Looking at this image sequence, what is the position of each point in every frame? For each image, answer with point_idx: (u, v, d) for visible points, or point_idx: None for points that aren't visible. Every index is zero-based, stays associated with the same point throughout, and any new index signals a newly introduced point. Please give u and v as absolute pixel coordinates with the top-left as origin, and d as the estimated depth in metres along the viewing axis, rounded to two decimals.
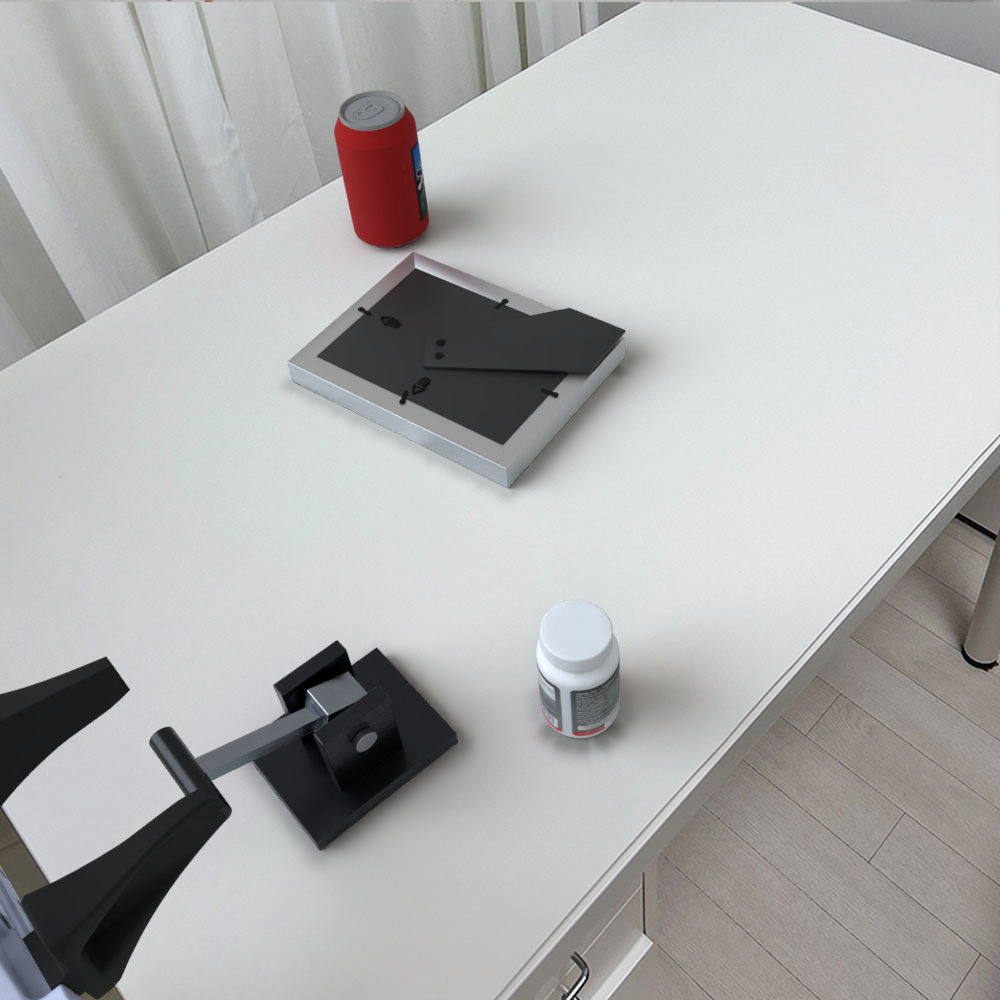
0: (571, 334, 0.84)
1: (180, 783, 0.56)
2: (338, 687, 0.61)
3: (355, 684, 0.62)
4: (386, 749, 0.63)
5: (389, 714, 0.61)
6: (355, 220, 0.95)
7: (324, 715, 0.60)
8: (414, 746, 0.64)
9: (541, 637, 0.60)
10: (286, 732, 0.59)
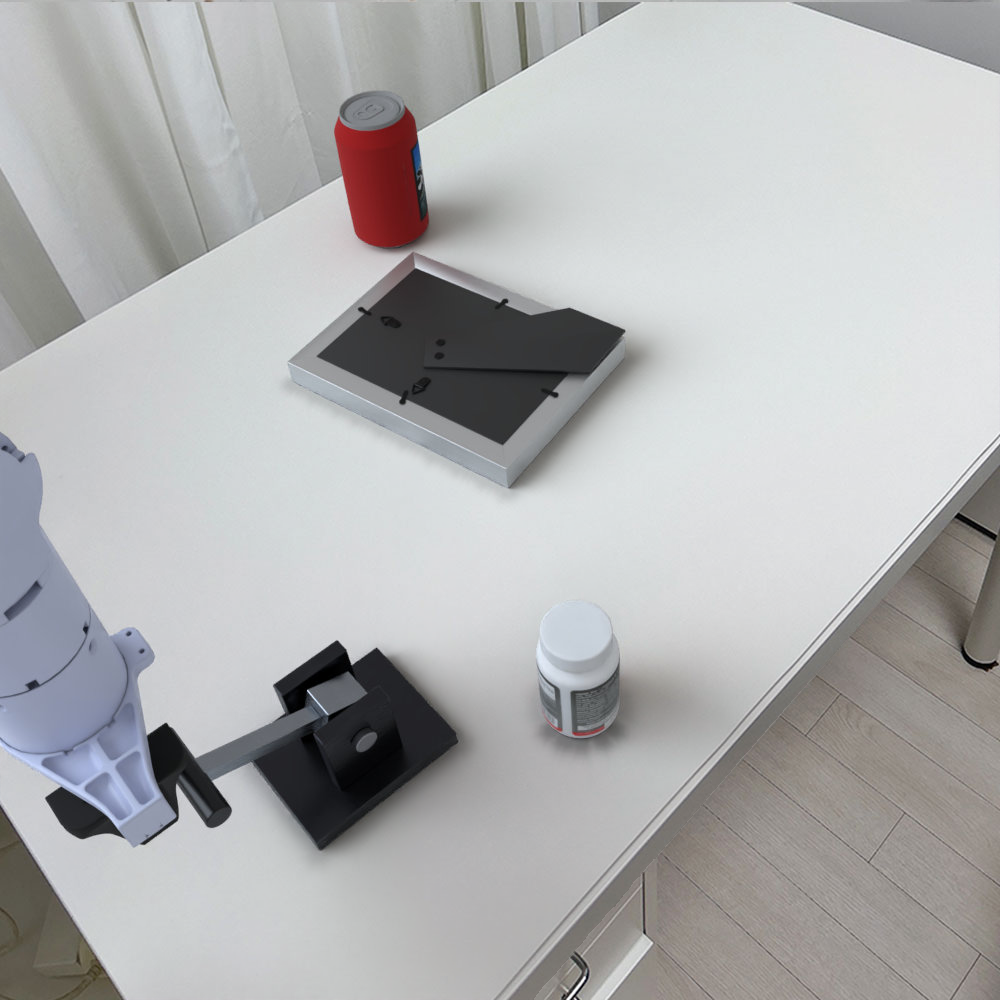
0: (571, 334, 0.84)
1: (180, 783, 0.56)
2: (338, 687, 0.61)
3: (355, 684, 0.62)
4: (386, 749, 0.63)
5: (389, 714, 0.61)
6: (355, 220, 0.95)
7: (324, 715, 0.60)
8: (414, 746, 0.64)
9: (541, 637, 0.60)
10: (286, 732, 0.59)
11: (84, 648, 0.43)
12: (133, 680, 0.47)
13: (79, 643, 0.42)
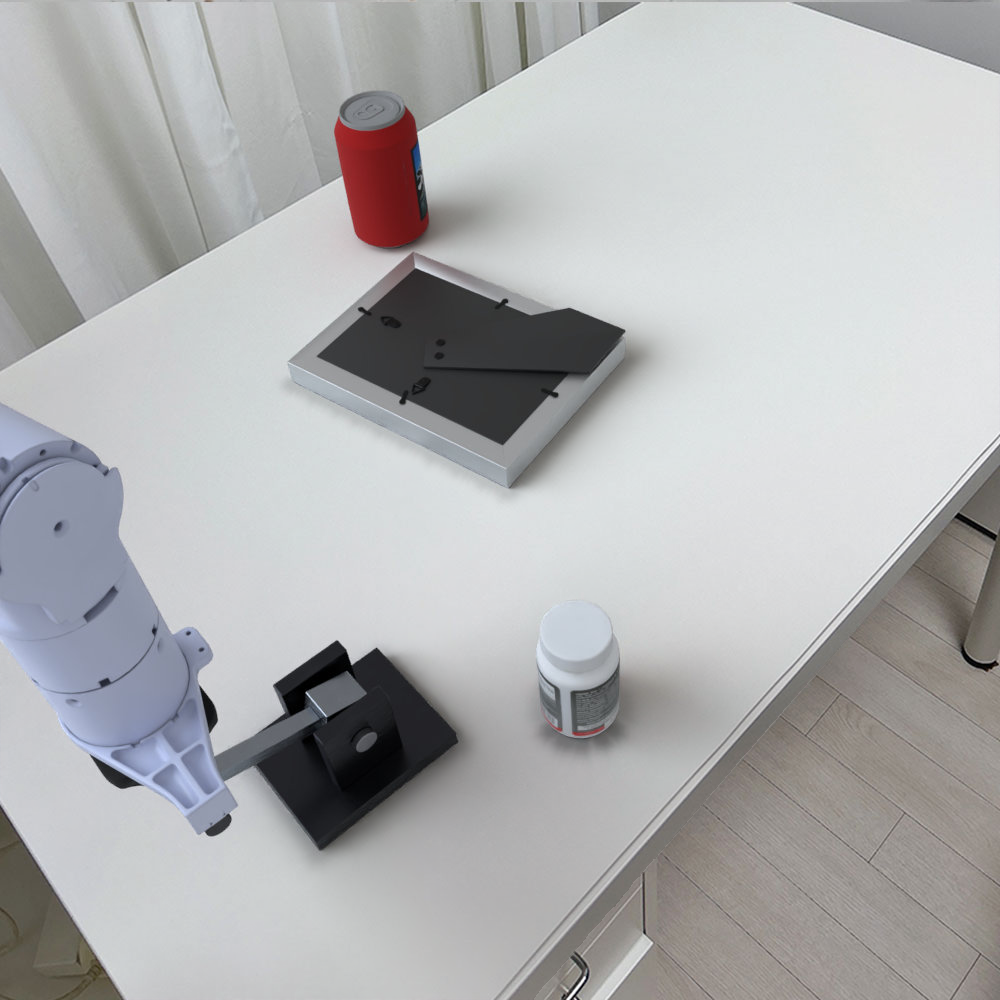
0: (571, 334, 0.84)
1: None
2: (337, 688, 0.61)
3: (354, 684, 0.62)
4: (386, 749, 0.63)
5: (389, 714, 0.61)
6: (355, 220, 0.95)
7: (323, 717, 0.60)
8: (414, 746, 0.64)
9: (541, 637, 0.60)
10: (285, 736, 0.59)
11: (153, 647, 0.45)
12: (194, 677, 0.49)
13: (148, 644, 0.45)
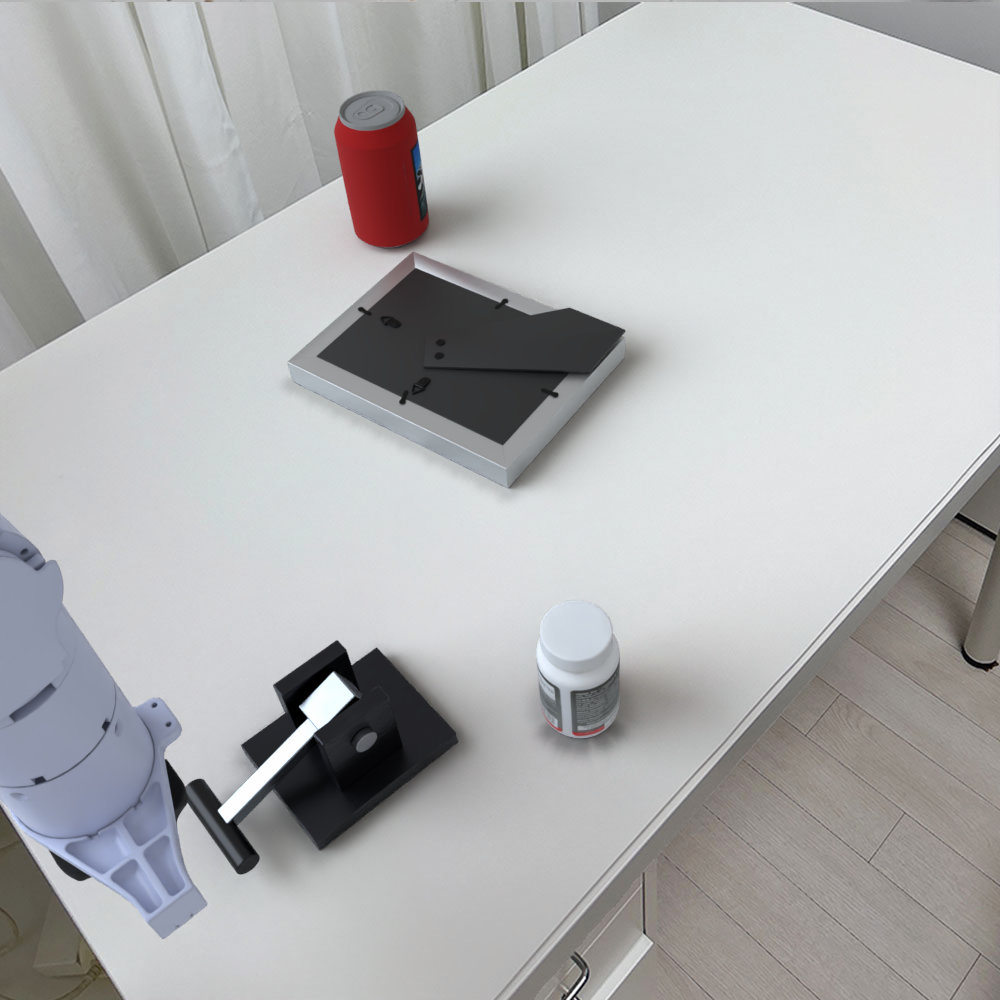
0: (571, 334, 0.84)
1: None
2: (326, 694, 0.61)
3: (341, 685, 0.61)
4: (386, 749, 0.63)
5: (389, 714, 0.61)
6: (355, 220, 0.95)
7: None
8: (414, 746, 0.64)
9: (541, 637, 0.60)
10: (290, 756, 0.61)
11: (110, 731, 0.40)
12: (160, 756, 0.44)
13: (95, 741, 0.40)
